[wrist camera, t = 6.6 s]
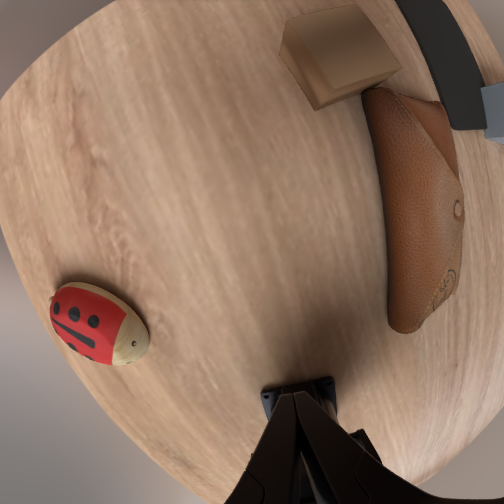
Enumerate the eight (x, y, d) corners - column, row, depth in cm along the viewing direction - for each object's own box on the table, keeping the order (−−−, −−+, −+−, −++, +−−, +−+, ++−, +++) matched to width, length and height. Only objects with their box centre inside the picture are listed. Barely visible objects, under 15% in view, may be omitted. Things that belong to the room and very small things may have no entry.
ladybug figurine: (146, 368, 22) (133, 392, 18) (58, 326, 21) (38, 343, 18) (158, 306, 20) (143, 328, 17) (60, 263, 20) (35, 276, 16)
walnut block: (370, 89, 16) (402, 67, 11) (314, 111, 17) (334, 89, 12) (336, 36, 15) (357, 4, 10) (279, 55, 16) (286, 19, 11)
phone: (442, -2, 12) (498, 128, 16) (439, 1, 13) (493, 129, 16) (388, -14, 13) (452, 130, 16) (384, -10, 14) (447, 131, 17)
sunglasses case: (459, 297, 20) (470, 337, 15) (392, 300, 24) (385, 339, 18) (440, 95, 16) (453, 73, 10) (365, 104, 20) (352, 85, 14)
